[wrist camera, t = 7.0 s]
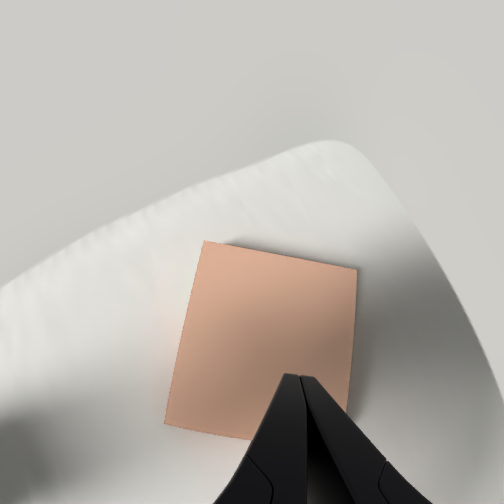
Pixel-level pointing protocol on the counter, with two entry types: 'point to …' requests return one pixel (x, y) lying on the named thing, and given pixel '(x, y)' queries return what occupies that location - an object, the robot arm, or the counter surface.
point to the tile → (258, 337)
